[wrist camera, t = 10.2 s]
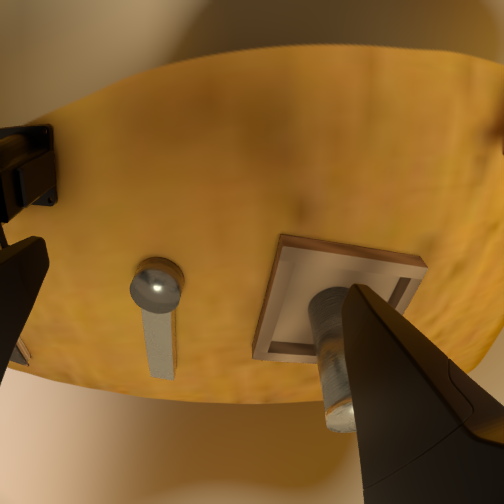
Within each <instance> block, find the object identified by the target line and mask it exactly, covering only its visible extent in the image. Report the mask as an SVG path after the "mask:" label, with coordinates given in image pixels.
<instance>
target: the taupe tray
mask: <svg viewBox="0 0 504 504" xmlns="http://www.w3.org/2000/svg"><path fill="white" fill-rule="evenodd" d="M427 270H428V267H427V265H426V264H425V263H424V261H423V260H422V259H421V257H419V256H413V255H407V254H401V253H396V252H390V251H384V250H378V249H372V248H366V247H360V246H354V245H347V244H341V243H335V242H329V241H322V240H316V239H310V238H303V237H296V236H290V235H283V234H281V236H280V240H279V244H278V248H277V252H276V256H275V260H274V264H273V268H272V272H271V276H270V280H269V283H268V287H267V291H266V295H265V299H264V303H263V307H262V310H261V314H260V318H259V322H258V326H257V329H256V333H255V337H254V341H253V344H252V359H256V360H267V361H280V362H295V363H313V364H317V358H316V353H315V347H314V342H313V336H312V331H311V325H310V320H309V315H308V305H309V303H310V301H311V300H312V298H313V297H314V296H315V295H316V294H318V293H319V292H321V291H323V290H325V289H327V288H331V287H346V288H350V287H351V285H352V284H354V283H359V284H366V285H368V286H369V287H370V288H371V289H372V290H373V291H375V292H376V293H377V294H378V295H379V296H380V297H382V298H383V299H384V300H385V301H386V302H387V303H388V304H390V305H391V306H392V307H393V308H394V309H395V310H397V311H398V312H399V313H400V314H401V315H403V314H404V312H405V310H406V308H407V307H408V305H409V303H410V301H411V300H412V298H413V296H414V294H415V292H416V291H417V289H418V287H419V285H420V283H421V281H422V279H423V278H424V276H425V274H426V272H427Z"/></svg>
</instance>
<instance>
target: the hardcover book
mask: <svg viewBox="0 0 504 504" xmlns="http://www.w3.org/2000/svg"><path fill="white" fill-rule="evenodd" d="M30 356H31V355H30V353H29V352H28V350H27V348H26V347H25V345H24V343H23V341H22V340H21V338H20V336H19V339H18V341H17V343H16V346H15V348H14V351H13V353H12V356H11V358H10V361H13V362H16V363H19V364H22V365H25V366H29V364H28V362H27V361H28V360H29V359H30Z"/></svg>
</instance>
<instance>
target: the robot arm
mask: <svg viewBox="0 0 504 504" xmlns="http://www.w3.org/2000/svg"><path fill="white" fill-rule="evenodd" d="M45 129H46V130H47V134H46V133H45ZM50 198H51V199H52V201H51V200H50ZM56 202H57V192H56V178H55V165H54V153H53V133H52V127H51V125H49V124H39V125H25V126H14V127H5V128H0V385H1V382H2V379H3V376H4V374H5V371H6V368H7V366H8V363H9V361H10V358H11V356H12V353H13V351H14V348H15V346H16V343H17V341H18V339H19V336H20V334H21V332H22V330H23V328H24V325H25V323H26V321H27V319H28V317H29V315H30V312H31V310H32V308H33V305H34V303H35V300H36V298H37V295H38V293H39V290H40V288H41V285H42V283H43V280H44V278H45V276H46V273H47V271H48V268H49V257H48V253H47V248H46V243H45V240H44V239H43V238H42V237H36V236H31V237H28V238H26V239H24V240H21V241H19V242H17V243H15V244H12V245H8V243H7V240H6V237H5V234H4V231H3V228H2V225H3V224H5V223H8V222H9V221H10V220H11V219H13V218H14V217H15V216H16V215H17V214H18V213H20V212H21V211H22V210H23V209H24V208H27V207H28V206H29V205H42V206H53V205H54V204H55V203H56ZM341 318H342V329H343V343H344V355H345V363H346V369H347V374H348V380H349V386H350V392H351V398H352V405H353V411H354V418H355V425H356V432H357V440H358V448H359V456H360V464H361V474H362V483H363V489H364V491H363V496H364V504H504V406H503V405H502V404H501V403H499V402H498V401H497V400H496V399H495V398H493V397H492V396H491V395H490V394H489V393H488V392H486V391H485V390H484V389H483V388H482V387H480V386H479V385H478V384H477V383H476V382H475V381H473V380H472V379H471V378H470V377H469V376H468V375H467V374H466V373H465V372H464V371H462V370H461V369H460V368H459V367H458V366H457V365H456V364H455V363H454V362H453V361H452V360H451V359H448V357H447V356H446V355H445V354H444V353H443V352H442V351H441V350H440V349H439V348H438V347H437V346H436V345H434V344H433V343H432V342H431V341H430V340H429V339H428V338H427V337H426V336H425V335H423V334H422V333H421V332H420V331H419V330H418V329H417V328H416V327H415V326H413V325H412V324H411V323H410V322H409V321H408V320H407V319H406V318H404V317H403V316H402V315H401V314H400V313H399V312H398V311H397V310H395V309H394V308H393V307H392V306H391V305H390V304H388V303H387V302H386V301H385V300H384V299H383V298H382V297H380V296H379V295H378V294H377V293H376V292H375V291H373V290H372V289H371V288H370V287H369V286H368V285H366V284H359V283H354V284H352V285H351V287H350V288H349V291H348V293H347V295H346V297H345V300H344V302H343V304H342V308H341Z"/></svg>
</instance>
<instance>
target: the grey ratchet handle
mask: <svg viewBox="0 0 504 504" xmlns="http://www.w3.org/2000/svg"><path fill="white" fill-rule="evenodd" d="M183 285H184V276H183V273H182V271H181V270H180V268H179V267H178V266H177V265H176V264H175V263H173V262H172V261H170V260H168V259H165V258H160V257H153V258H148V259H146V260H144V261H143V262H142V263H141V264H140V266H139V268H138V270H137V272H136V274H135V276H134V278H133V280H132V283H131V285H130V294H131V297H132V299H133V300H134V302H135V303H136V304H137V305H138V306H139V307H141V310H142V319H143V327H144V335H145V343H146V350H147V356H148V363H149V369H150V375H151V377H156V378H162V379H168V380H174V377H175V372H176V367H177V361H176V327H175V308H176V307H177V306H178V304H179V301H180V297H181V293H182V289H183Z"/></svg>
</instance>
